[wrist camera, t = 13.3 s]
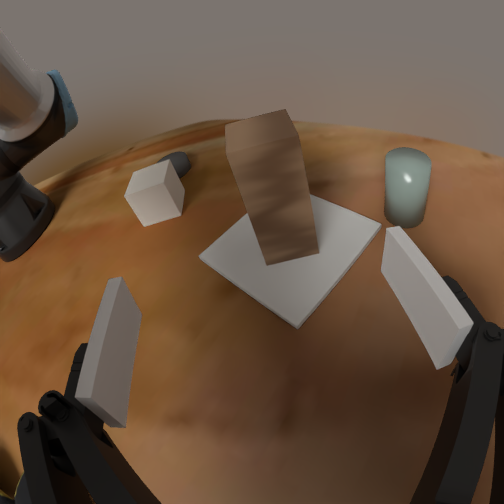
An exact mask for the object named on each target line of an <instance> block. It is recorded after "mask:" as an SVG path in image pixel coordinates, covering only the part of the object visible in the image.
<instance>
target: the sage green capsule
mask: <svg viewBox="0 0 504 504" xmlns="http://www.w3.org/2000/svg"><path fill="white" fill-rule="evenodd" d="M430 172H431V160H430V158H429V157H428V156H427V155H426V154H425V153H423V152H421V151H419V150H417V149H413V148H406V147H402V148H396V149H393V150H391V151H389V152H388V153H387V154H386V163H385V203H384V215H385V217H386V219H387V220H388V221H389V222H390V223H391V224H393V225H395V226H400V227H401V228H413V227H416V226H418V225H419V224H421V222H422V221H423V219H424V214H425V208H426V201H427V195H428V188H429V180H430Z"/></svg>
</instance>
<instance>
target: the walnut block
mask: <svg viewBox="0 0 504 504" xmlns="http://www.w3.org/2000/svg"><path fill="white" fill-rule="evenodd" d="M225 143H226V156H227V158H228V161H229V164H230V167H231V169H232V172H233V175H234V177H235V180H236V183H237V186H238V188H239V191H240V194H241V197H242V199H243V202H244V205H245V207H246V210H247V213H248V216H249V218H250V221H251V224H252V227H253V229H254V232H255V235H256V238H257V240H258V243H259V246H260V249H261V251H262V254H263V257H264V260H265V263H266V265H267V266H268V265H273V264H277V263H281V262H285V261H289V260H294V259H298V258H302V257H306V256H310V255H314V254H319V249H318V242H317V235H316V229H315V222H314V216H313V210H312V204H311V198H310V192H309V187H308V181H307V176H306V170H305V165H304V160H303V155H302V150H301V145H300V140H299V135H298V133H297V131H296V129H295V127H294V125H293V123H292V121H291V119H290V117H289V115H288V113H287V111H286V109H284V110H279V111H275V112H271V113H267V114H263V115H259V116H255V117H251V118H248V119H244V120H240V121H237V122H233V123H230V124H226V125H225Z"/></svg>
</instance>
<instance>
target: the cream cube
mask: <svg viewBox="0 0 504 504" xmlns="http://www.w3.org/2000/svg"><path fill="white" fill-rule="evenodd" d="M184 193H185V189H184V187H183V185H182V183H181V181H180V179H179V177H178V175H177V173H176V171H175V169H174V167H173V165H172V163H171V161H170V159H168V160H165V161H162V162H160V163H157V164H154V165H151V166H149V167H146V168H143V169H141V170H138V171H135V172H133V175H132V178H131V180H130V183H129V185H128V188H127V190H126V193H125V196H124V197H125V198H126V200H127V201H128V203H129V205H130V206H131V208H132V209H133V211H134V212H135V214H136V215H137V217H138V218H139V220H140V221H141V223H142V224H143V226H144V227H145V226H148V225H152V224H155V223H158V222H161V221H165V220H168V219H171V218H175V217H178V216H181V215H182V208H183V200H184Z"/></svg>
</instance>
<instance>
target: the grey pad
mask: <svg viewBox="0 0 504 504" xmlns="http://www.w3.org/2000/svg"><path fill="white" fill-rule="evenodd" d="M310 198H311V204H312V210H313V216H314V222H315V229H316V235H317V242H318V249H319V254H314V255H310V256H306V257H302V258H298V259H294V260H289V261H285V262H281V263H277V264H273V265H268V266H267V265H266V263H265V260H264V257H263V254H262V251H261V249H260V246H259V243H258V240H257V238H256V235H255V232H254V229H253V227H252V224H251V221H250V218H249V216H248V213H247V214H245V215H244V216H243V217H242V218H241V219H240V220H239V221H237V222H236V223H235V224H234V225H233V226H232V227H231V228H229V229H228V230H227V231H226V232H225V233H224V234H223V235H222V236H220V237H219V238H218V239H217V240H216V241H215V242H214V243H213V244H211V245H210V246H209V247H208V248H207V249H206V250H205V251H204V252H202V253H201V254H200V255H199V258H200V259H201V260H202V261H203V262H205V263H206V264H207V265H209V266H210V267H211V268H213V269H214V270H215V271H217V272H218V273H220V274H221V275H222V276H224V277H225V278H226V279H228V280H229V281H230V282H232V283H233V284H235V285H236V286H237V287H239V288H240V289H241V290H243V291H244V292H246V293H247V294H248V295H250V296H251V297H252V298H254V299H255V300H257V301H258V302H259V303H261V304H262V305H264V306H265V307H266V308H268V309H269V310H271V311H272V312H273V313H275V314H276V315H278V316H279V317H281V318H282V319H283V320H285V321H286V322H288V323H289V324H291V325H292V326H293V327H295V328H296V329H299V328H300V326H301V325H302V324H303V323H304V322H305V321H306V320H307V319H308V317H309V316H310V315H311V314H312V313H313V312H314V311H315V309H316V308H317V307H318V306H319V305H320V304H321V302H322V301H323V300H324V299H325V298H326V297H327V295H328V294H329V293H330V292H331V291H332V289H333V288H334V287H335V286H336V285H337V283H338V282H339V281H340V280H341V279H342V277H343V276H344V275H345V274H346V272H347V271H348V270H349V269H350V267H351V266H352V265H353V264H354V262H355V261H356V260H357V259H358V257H359V256H360V255H361V254H362V252H363V251H364V250H365V248H366V247H367V246H368V245H369V243H370V242H371V241H372V239H373V238H374V237H375V235H376V234H377V233H378V231H379V230H380V229H381V224H380V223H378V222H376V221H374V220H371V219H369V218H367V217H364V216H362V215H360V214H357V213H355V212H353V211H350V210H348V209H346V208H343V207H341V206H338V205H336V204H334V203H331V202H329V201H326V200H324V199H321V198H319V197H316V196H314V195H311V194H310Z"/></svg>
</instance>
